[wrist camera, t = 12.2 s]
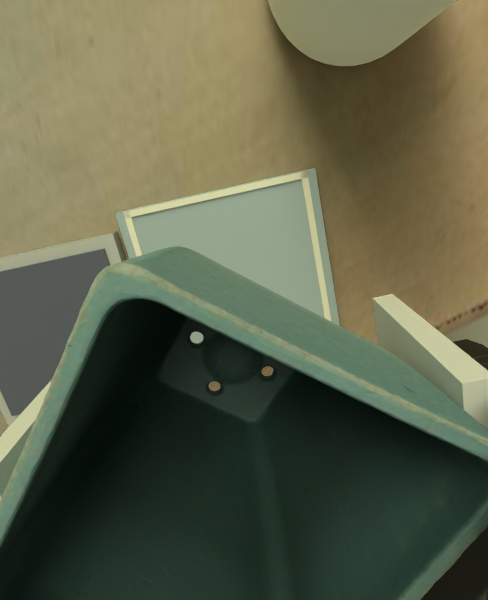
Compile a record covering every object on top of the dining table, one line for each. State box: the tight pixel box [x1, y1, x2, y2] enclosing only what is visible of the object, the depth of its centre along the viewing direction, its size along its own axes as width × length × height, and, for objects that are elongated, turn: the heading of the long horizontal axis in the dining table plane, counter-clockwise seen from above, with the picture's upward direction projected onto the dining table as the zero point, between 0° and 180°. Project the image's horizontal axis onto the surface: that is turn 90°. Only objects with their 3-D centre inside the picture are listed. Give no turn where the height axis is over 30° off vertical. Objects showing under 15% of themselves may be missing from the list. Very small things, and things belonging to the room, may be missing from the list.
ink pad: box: [0, 231, 126, 425], centre depth 29 cm, size 12×12×1 cm
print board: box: [115, 168, 340, 343], centre depth 28 cm, size 13×12×1 cm
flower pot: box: [0, 246, 488, 600], centre depth 12 cm, size 9×9×9 cm
